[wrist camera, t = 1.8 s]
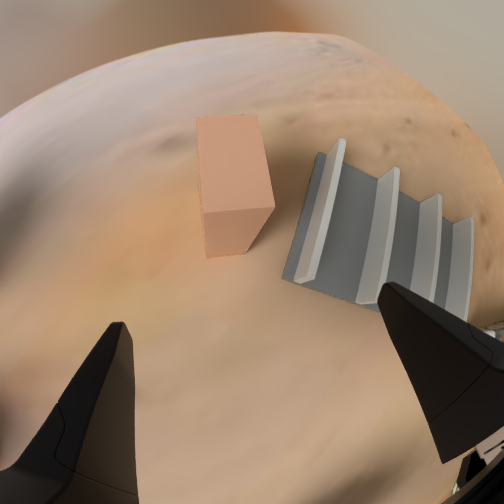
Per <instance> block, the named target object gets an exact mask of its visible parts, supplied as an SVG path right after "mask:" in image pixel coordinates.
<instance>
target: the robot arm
mask: <svg viewBox="0 0 504 504" xmlns="http://www.w3.org/2000/svg"><path fill="white" fill-rule="evenodd" d="M377 304H378V307H379V310H380V312H381V315H382V317H383V320H384V323H385V325H386V328H387V331H388V333H389V336H390V338H391V340H392V342H393V345H394V347H395V349H396V351H397V353H398V355H399V357H400V359H401V361H402V364H403V366H404V368H405V370H406V372H407V375H408V377H409V379H410V381H411V384H412V386H413V388H414V390H415V393H416V395H417V398H418V400H419V402H420V405H421V407H422V410H423V412H424V415H425V417H426V420H427V422H428V425H429V428H430V431H431V433H432V436H433V439H434V442H435V444H436V447H437V450H438V453H439V456H440V459H441V462H442V464H444V463H446V462H448V461H450V460H452V459H454V458H456V457H457V456H459V455H461V454H463V453H464V452H466V451H468V450H469V449H471V448H473V447H475V449H474V450H472V451H471V452H470V453H469V454H468V455H467V456H465V457H464V458H463V460H462V464H461V468H460V472H459V475H458V479H457V482H456V483H457V485H458V487H459V491H457V492H456V493H455V494H453V495H452V496H451V497H450V498H448V499H447V500H446V501H444V502H443V503H442V504H504V342H502V341H500V340H498V339H496V338H494V337H492V336H490V335H489V334H487V333H485V332H483V331H481V330H479V329H478V328H476V327H474V326H472V325H471V324H469V323H466V321H464V320H462V319H460V318H459V317H457V316H455V315H454V314H452V313H450V312H448V311H447V310H445V309H443V308H441V307H440V306H438V305H436V304H434V303H432V302H431V301H429V300H427V299H425V298H423V297H422V296H420V295H418V294H416V293H414V292H413V291H411V290H409V289H407V288H405V287H403V286H402V285H400V284H398V283H396V282H394V281H390V282H386V283H384V284H383V285H382V288H381V290H380V293H379V296H378V298H377ZM0 504H139V497H138V488H137V476H136V460H135V375H134V359H133V341H132V338H131V335H130V333H129V331H128V329H127V327H126V325H125V323H124V322H112V323H111V324H110V325H109V327H108V328H107V329H106V331H105V332H104V333H103V335H102V336H101V338H100V339H99V340H98V342H97V343H96V345H95V346H94V347H93V349H92V350H91V352H90V353H89V355H88V356H87V357H86V359H85V360H84V362H83V363H82V365H81V366H80V368H79V369H78V371H77V372H76V374H75V375H74V377H73V378H72V380H71V381H70V383H69V384H68V386H67V387H66V389H65V390H64V392H63V394H62V395H61V397H60V398H59V400H58V403H56V405H55V406H54V408H53V409H52V411H51V413H50V414H49V416H48V417H47V419H46V420H45V422H44V424H43V425H42V426H41V428H40V429H39V431H38V432H37V434H36V435H35V436H34V438H33V439H32V440H31V442H30V443H29V445H28V446H27V447H26V449H25V450H24V452H23V453H22V454H21V456H20V457H19V459H18V460H17V461H16V462H15V463H14V464H13V465H12V466H10V467H9V468H7V469H4V470H2V471H0Z"/></svg>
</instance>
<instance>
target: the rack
mask: <svg viewBox="0 0 504 504" xmlns="http://www.w3.org/2000/svg"><path fill="white" fill-rule="evenodd" d="M345 146H346V140H344V139H342V138H340V139H339V140H338V141H337V143H336V144H335V145H334V147H333V148H332V149H331V151H330V152H329V153H328V154H327V155H325V154H323V153H321V152H319V153H318V154H317V156H316V160H315V164H314V167H313V171H312V175H311V179H310V182H309V186H308V189H307V193H306V197H305V200H304V204H303V207H302V211H301V214H300V218H299V221H298V225H297V228H296V232H295V235H294V238H293V242H292V245H291V248H290V252H289V255H288V258H287V262H286V265H285V268H284V271H283V275H282V278H281V279H284V280H287V281H290V282H292V283H295V284H298V285H301V286H304V287H307V288H310V289H313V290H316V291H318V292H321V293H324V294H327V295H330V296H333V297H336V298H339V299H342V300H345V301H348V302H351V303H354V304H357V305H360V306H363V307H366V308H369V309H372V310H375V311H378V312H380V310H379V307H378V304H377V298H378V296H379V293H380V290H381V288H382V285H383V284H384V283H386V282H390V281H394V282H396V283H398V284H400V285H402V286H403V287H405V288H407V289H409V290H411V291H413V292H414V293H416V294H418V295H420V296H422V297H423V298H425V299H427V300H429V301H431V302H432V303H434V304H436V305H438V306H440V307H441V308H443V309H445V310H447V311H448V312H450V313H452V314H454V315H455V316H457V317H459V318H460V319H462V320H464V321H466V322H467V316H468V310H469V303H470V295H471V286H472V275H473V259H474V218H472V217H468V218H466V219H464V220H461V221H459V222H457V223H454V224H452V223H451V222H449V221H448V220H446V219H444V218H443V217H442V195H441V194H439V193H437V194H435V195H434V196H432V197H430V198H428V199H427V200H425V201H423V202H421V203H419V202H417V201H415V200H414V199H412V198H410V197H408V196H407V195H405V194H403V193H401V192H400V191H399V178H400V169H399V168H397V167H396V166H394V167H393V168H392V169H391V170H389V171H388V172H387V173H386V174H384V175H383V176H382V177H381V178H379V179H378V180H377V179H376V178H374V177H372V176H370V175H368V174H366V173H364V172H362V171H360V170H358V169H356V168H354V167H352V166H349V165H347V164H345V163H343V157H344V152H345Z"/></svg>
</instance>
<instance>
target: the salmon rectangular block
mask: <svg viewBox="0 0 504 504" xmlns="http://www.w3.org/2000/svg"><path fill="white" fill-rule="evenodd" d="M196 130H197V158H198V179H199V197H200V208H201V218H202V228H203V237H204V246H205V255H206V258H213V257H222V256H231V255H239V254H245V253H246V252H247V250H248V249H249V247H250V245H251V244H252V242H253V241H254V239H255V238H256V236H257V235H258V233H259V231H260V230H261V228H262V227H263V225H264V224H265V222H266V221H267V219H268V218H269V216H270V214H271V213H272V211H273V210H274V208H275V201H274V196H273V191H272V185H271V180H270V175H269V170H268V165H267V160H266V155H265V150H264V145H263V140H262V135H261V130H260V125H259V121H258V116H257V115H233V116H213V117H200V118H196Z"/></svg>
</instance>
